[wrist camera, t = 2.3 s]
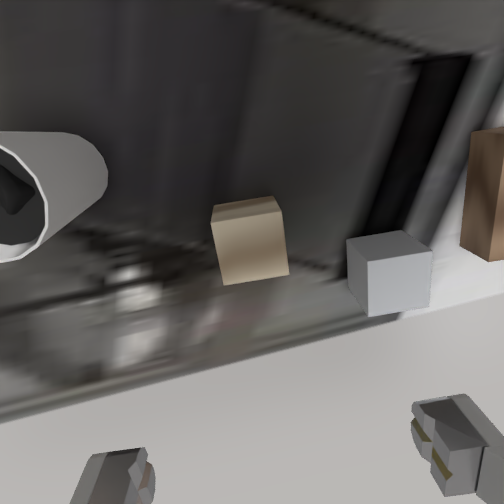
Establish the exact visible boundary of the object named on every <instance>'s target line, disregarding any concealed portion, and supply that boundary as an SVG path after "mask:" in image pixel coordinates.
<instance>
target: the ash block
mask: <svg viewBox="0 0 504 504" xmlns="http://www.w3.org/2000/svg"><path fill="white" fill-rule="evenodd" d="M211 228H212V232H213V237H214V242H215V246H216V251H217V256H218V260H219V265H220V270H221V274H222V279H223V284H224V285H230V284H236V283H242V282H248V281H254V280H260V279H266V278H272V277H279V276H285V275H289V268H288V260H287V252H286V244H285V236H284V227H283V219H282V211H281V209H280V207H279V206H278V204H277V202H276V200H275V198H274V196H267V197H261V198H255V199H249V200H243V201H237V202H231V203H225V204H219V205H214V208H213V213H212V218H211Z"/></svg>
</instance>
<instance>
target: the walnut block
mask: <svg viewBox="0 0 504 504" xmlns="http://www.w3.org/2000/svg"><path fill="white" fill-rule="evenodd" d="M460 246H461V247H462V248H464V249H466V250H468V251H470V252H471V253H473V254H475V255H477V256H479V257H480V258H482V259H484V260H486V261H487V262H492V261H498V260H504V127H498V128H492V129H486V130H480V131H474V132H471V142H470V151H469V161H468V170H467V180H466V190H465V199H464V209H463V218H462V228H461V238H460Z"/></svg>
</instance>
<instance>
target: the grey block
mask: <svg viewBox="0 0 504 504" xmlns="http://www.w3.org/2000/svg"><path fill="white" fill-rule="evenodd" d="M346 246H347V269H348V288H349V289H350V291H351V292H352V294H353V295H354V297H355V298H356V300H357V301H358V303H359V304H360V305H361V307H362V308H363V310H364V311H365V313H366V314H367V316H368V317H371V316H377V315H383V314H389V313H396V312H402V311H408V310H414V309H420V308H426V307H429V303H430V288H431V274H432V260H433V251H432V250H431V249H429V248H428V247H426V246H425V245H423V244H422V243H420V242H419V241H417V240H416V239H414V238H413V237H411V236H410V235H408V234H407V233H405V232H404V231H402V230H399V231H393V232H387V233H381V234H375V235H369V236H363V237H357V238H351V239H346Z"/></svg>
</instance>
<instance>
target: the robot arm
mask: <svg viewBox="0 0 504 504" xmlns="http://www.w3.org/2000/svg"><path fill="white" fill-rule="evenodd" d="M412 413H413V414H414V416H415V418H414V419H413V420H412V422H411V433H412V436H413V440H414V443H415V445H416V447H417V449H418V451H419V453H420V455H421V456H422V457H423V458H424V459H426V460H427V461H429V462H430V463H431V471H430V472H431V474H432V476H433V478H434V479H435V481H436V483H437V485H438V486H439V488H440V490H441V491H442V493H443V495H444V497H448V496H456V495H463V494H470V493H476V495H477V496H478V497H480V498H481V499H482V500H483V501H484V502H486V503H487V504H504V436H503V435H502V434H501V433H500V431H499V430H498V429H497V428H496V427H495V426H494V425H493V423H491V421H490V420H489V419H488V418H487V417H486V415H485V414H484V413H483V412H482V411H481V410H480V409H479V407H478V406H477V405H476V404H475V403H474V402H473V401H472V400H471V398H470V397H469V396H467V395H466V394H459V395H453V396H447V397H439V398H433V399H428V400H422V401H416V402H414V403H413V404H412ZM147 456H148V454H147V451H146V449H145V447H142V448H135V449H127V450H120V451H113V452H106V453H99V454H93V455H92V456H91V457H90V459H89V460H88V461H87V464H86V466H85V468H84V471H83V473H82V476H81V478H80V480H79V483H78V485H77V487H76V490H75V492H74V495H73V497H72V499H71V502H70V504H151V503H152V502H153V498H154V493H155V472H154V468H153V466H152V464H150V463H149V462H147V461H146V460H147Z"/></svg>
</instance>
